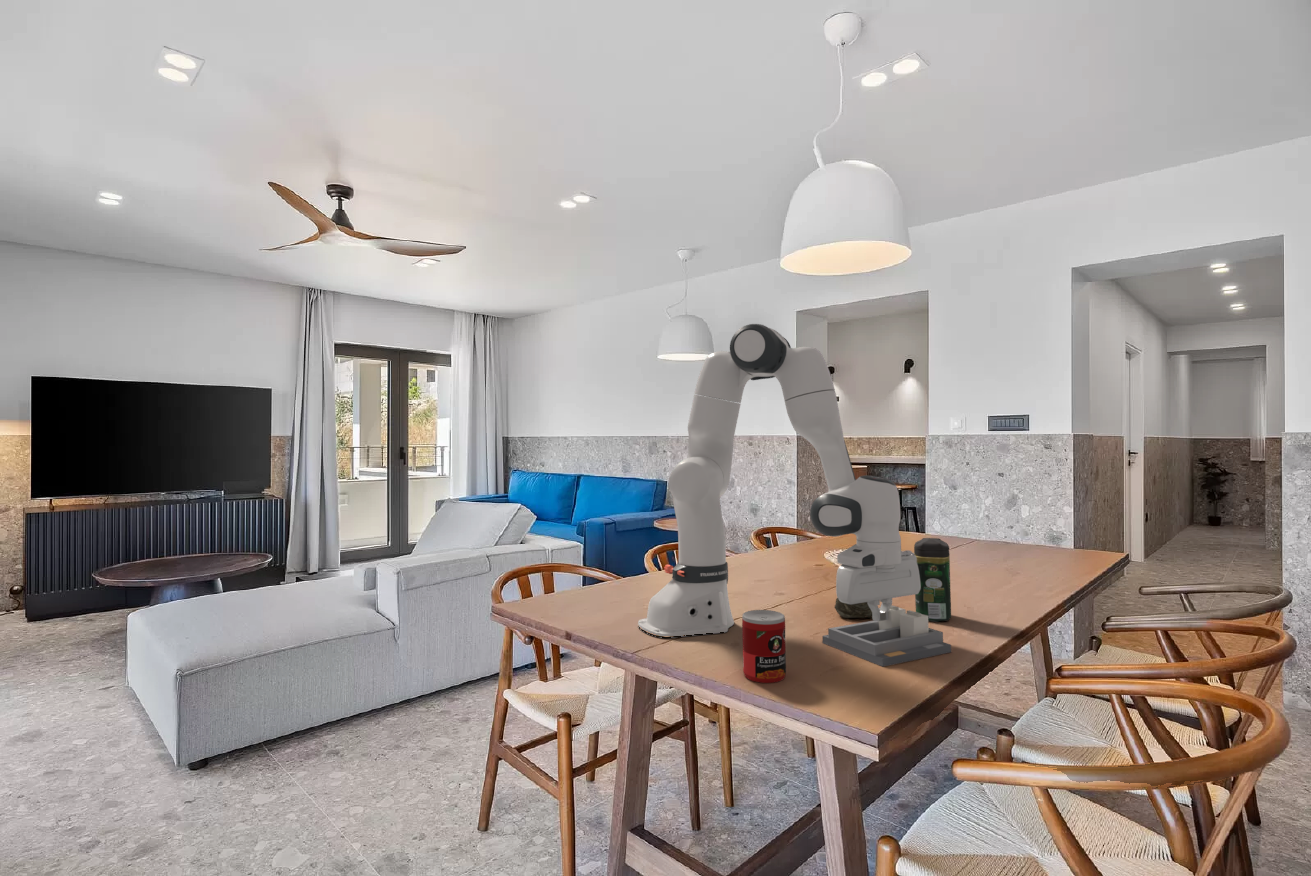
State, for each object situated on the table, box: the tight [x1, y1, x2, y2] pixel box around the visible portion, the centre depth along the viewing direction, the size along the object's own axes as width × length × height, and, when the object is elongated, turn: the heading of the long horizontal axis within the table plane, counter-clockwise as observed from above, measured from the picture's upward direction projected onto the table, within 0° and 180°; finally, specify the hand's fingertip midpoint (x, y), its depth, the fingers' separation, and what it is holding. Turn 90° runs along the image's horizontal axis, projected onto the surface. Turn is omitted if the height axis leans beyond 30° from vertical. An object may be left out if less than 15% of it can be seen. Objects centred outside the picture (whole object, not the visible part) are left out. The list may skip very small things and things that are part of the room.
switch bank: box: [821, 620, 952, 667], centre depth 137 cm, size 18×17×4 cm
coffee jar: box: [913, 537, 952, 623], centre depth 159 cm, size 10×8×19 cm
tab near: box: [900, 610, 929, 638], centre depth 136 cm, size 4×4×6 cm
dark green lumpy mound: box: [834, 597, 872, 619], centre depth 162 cm, size 11×12×10 cm
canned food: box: [741, 609, 787, 684], centre depth 122 cm, size 8×8×11 cm
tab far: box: [878, 604, 907, 630], centre depth 142 cm, size 4×4×6 cm
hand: (880, 620), depth 140 cm, fingers closed
